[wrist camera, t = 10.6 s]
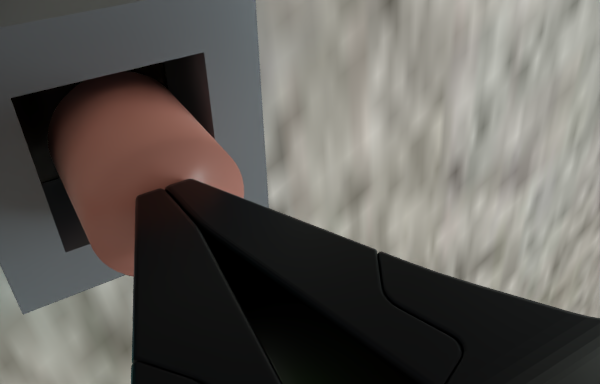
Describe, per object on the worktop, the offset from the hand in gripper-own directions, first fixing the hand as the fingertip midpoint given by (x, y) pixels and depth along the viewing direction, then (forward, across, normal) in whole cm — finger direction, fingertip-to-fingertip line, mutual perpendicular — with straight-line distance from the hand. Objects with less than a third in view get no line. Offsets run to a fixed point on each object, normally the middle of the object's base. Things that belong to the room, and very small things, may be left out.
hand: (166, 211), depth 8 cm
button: (+3, 0, 0) cm, 3 cm away
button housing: (+4, 0, 0) cm, 4 cm away
